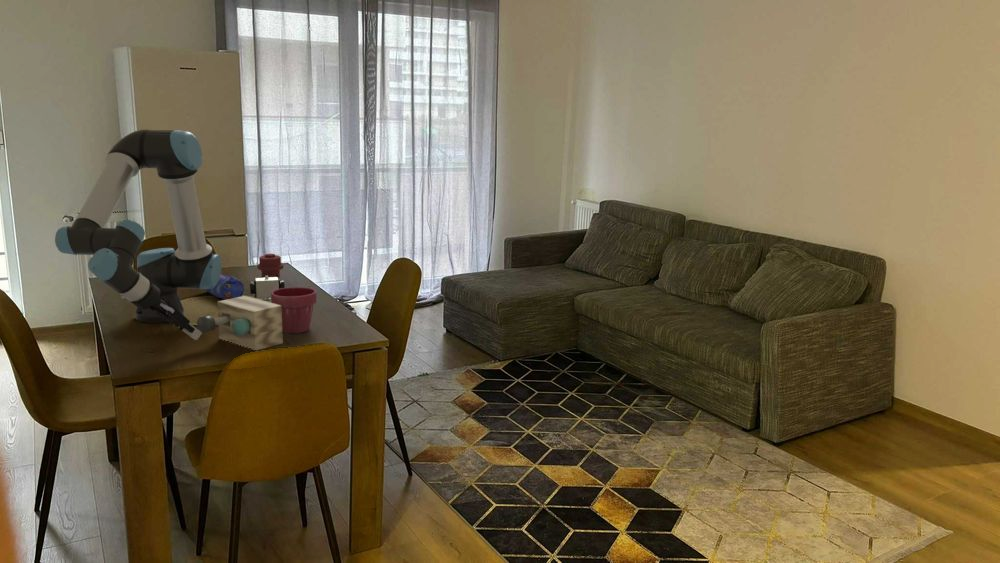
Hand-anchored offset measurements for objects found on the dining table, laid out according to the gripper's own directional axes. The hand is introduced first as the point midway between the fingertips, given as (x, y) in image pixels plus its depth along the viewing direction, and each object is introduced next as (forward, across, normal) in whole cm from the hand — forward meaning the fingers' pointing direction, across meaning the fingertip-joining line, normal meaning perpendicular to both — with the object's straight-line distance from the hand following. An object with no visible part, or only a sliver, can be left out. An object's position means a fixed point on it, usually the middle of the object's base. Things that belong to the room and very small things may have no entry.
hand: (198, 336), depth 232 cm
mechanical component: (+50, -52, +44) cm, 84 cm away
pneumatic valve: (+33, -23, +27) cm, 48 cm away
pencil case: (+33, -50, +26) cm, 65 cm away
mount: (+13, +5, +8) cm, 16 cm away
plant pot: (+26, +5, +20) cm, 32 cm away
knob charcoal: (+5, 0, +6) cm, 8 cm away
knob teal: (+9, +10, +9) cm, 16 cm away
